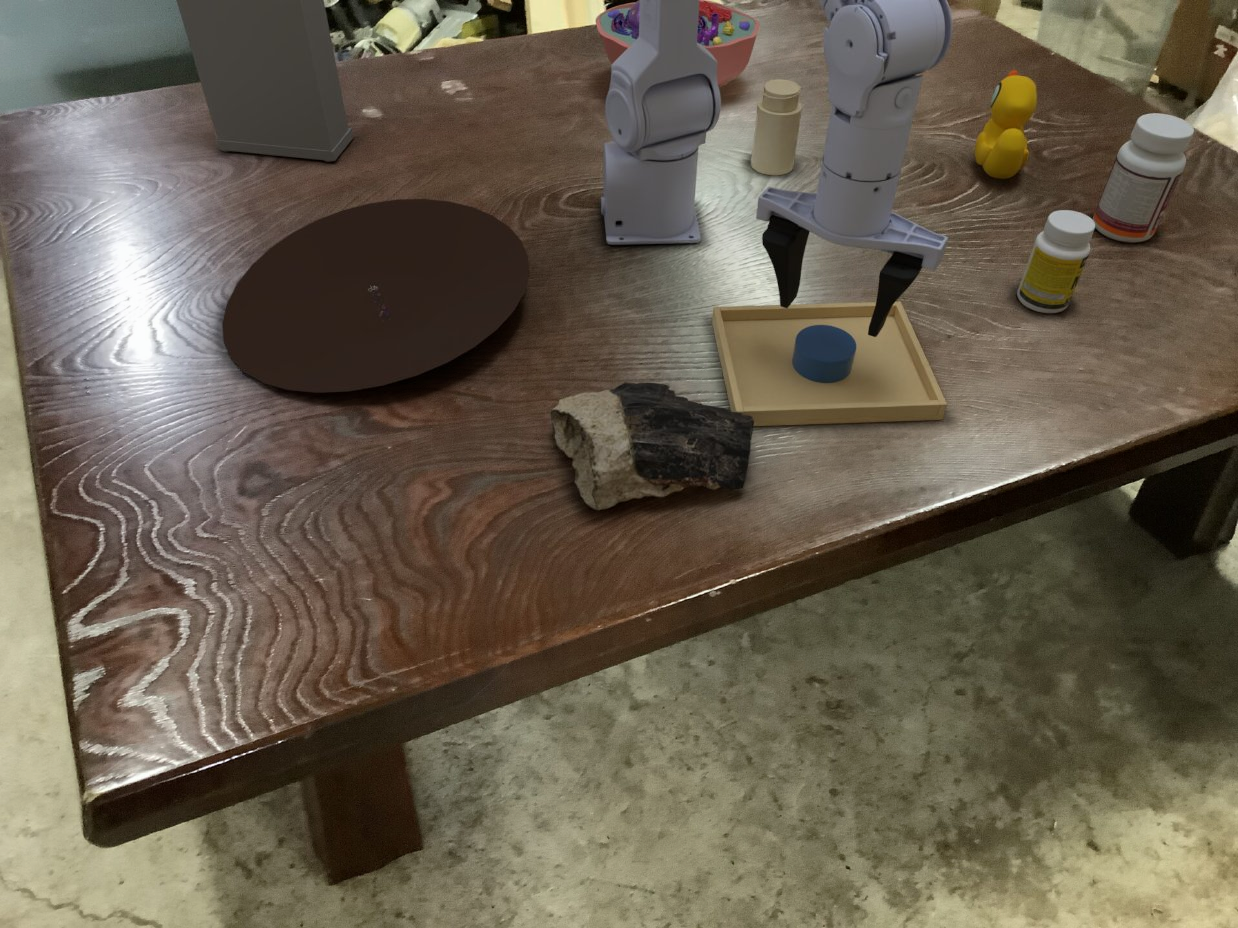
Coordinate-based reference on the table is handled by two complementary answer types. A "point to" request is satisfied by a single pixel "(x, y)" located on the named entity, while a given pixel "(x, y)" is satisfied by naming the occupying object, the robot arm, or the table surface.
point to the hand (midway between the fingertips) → (831, 315)
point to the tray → (777, 395)
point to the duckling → (1007, 127)
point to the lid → (823, 353)
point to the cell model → (717, 32)
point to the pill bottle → (1143, 178)
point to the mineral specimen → (649, 443)
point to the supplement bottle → (1056, 262)
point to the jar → (776, 128)
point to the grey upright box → (268, 76)
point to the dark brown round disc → (374, 295)
